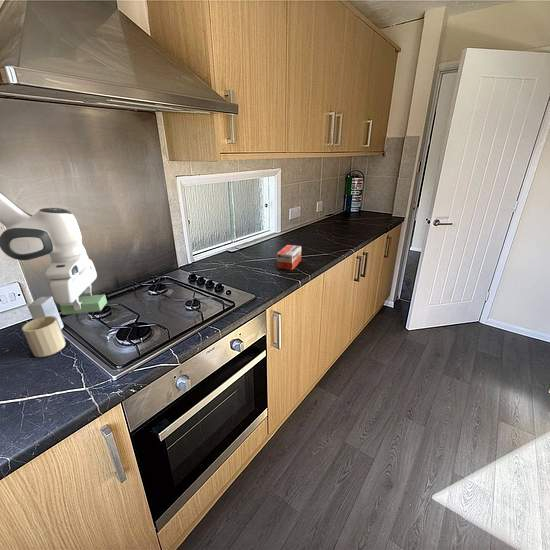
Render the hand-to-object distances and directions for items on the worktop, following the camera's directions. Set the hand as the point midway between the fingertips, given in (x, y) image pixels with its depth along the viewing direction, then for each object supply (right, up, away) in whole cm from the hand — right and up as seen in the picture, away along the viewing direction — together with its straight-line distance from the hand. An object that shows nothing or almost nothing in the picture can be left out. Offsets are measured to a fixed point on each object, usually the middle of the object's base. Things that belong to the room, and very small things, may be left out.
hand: (83, 303), depth 93 cm
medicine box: (+68, +14, +56) cm, 89 cm away
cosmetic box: (-13, -10, +4) cm, 17 cm away
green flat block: (0, -2, +1) cm, 2 cm away
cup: (-8, -13, -4) cm, 16 cm away
